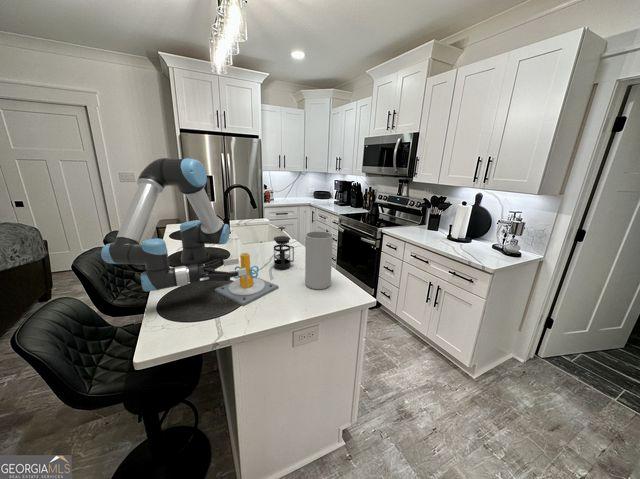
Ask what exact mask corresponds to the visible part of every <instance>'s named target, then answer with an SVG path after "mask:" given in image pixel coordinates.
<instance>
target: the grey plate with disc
mask: <svg viewBox="0 0 640 479" xmlns="http://www.w3.org/2000/svg"><path fill="white" fill-rule="evenodd" d="M277 289H279V285H278V284H275V283H273V282H270V281H267V280H264V279H262V278H260V277H258V276H257V277H256V278H253V286H252V287H249V288H242V287H241V286H240V279H239V278H238V279H236V280H233V281H231V282H229V283H226V284H224V285H221V286H219V287H216V288H214V292H215V293H217V294H219V295H221V296H223V297H225V298H227V299H229V300H230V301H233V302H234V303H236V304H239V305H240V306H242V307H245V306H246V305H249V304H250V303H252V302H254V301H256V300H259V299H261V298H262V297H264V296H266V295H268V294H269V293H272V292H274V291H275V290H277Z"/></svg>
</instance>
